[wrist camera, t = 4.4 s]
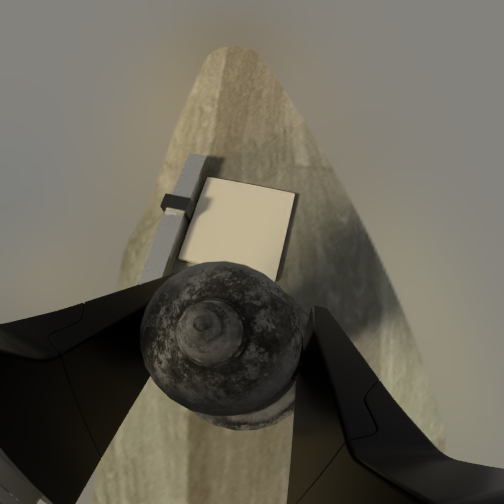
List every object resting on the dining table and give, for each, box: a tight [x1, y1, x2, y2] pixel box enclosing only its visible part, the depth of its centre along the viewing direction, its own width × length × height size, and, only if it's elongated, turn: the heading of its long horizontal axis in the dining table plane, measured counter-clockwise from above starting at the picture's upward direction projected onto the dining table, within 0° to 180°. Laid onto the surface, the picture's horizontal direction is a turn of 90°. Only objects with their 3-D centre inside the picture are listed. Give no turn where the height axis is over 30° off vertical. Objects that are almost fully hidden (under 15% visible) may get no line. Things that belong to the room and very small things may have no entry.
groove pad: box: [179, 177, 295, 282], centre depth 22 cm, size 7×7×1 cm
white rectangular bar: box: [138, 153, 209, 285], centre depth 21 cm, size 16×2×2 cm, turn 166°
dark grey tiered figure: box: [140, 261, 309, 430], centre depth 9 cm, size 6×6×12 cm
